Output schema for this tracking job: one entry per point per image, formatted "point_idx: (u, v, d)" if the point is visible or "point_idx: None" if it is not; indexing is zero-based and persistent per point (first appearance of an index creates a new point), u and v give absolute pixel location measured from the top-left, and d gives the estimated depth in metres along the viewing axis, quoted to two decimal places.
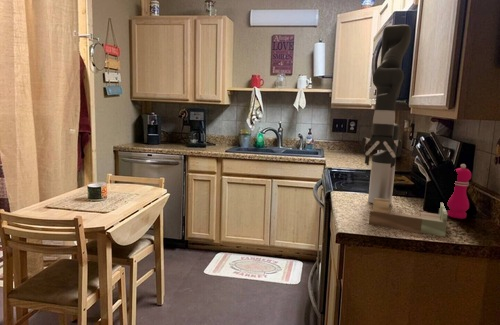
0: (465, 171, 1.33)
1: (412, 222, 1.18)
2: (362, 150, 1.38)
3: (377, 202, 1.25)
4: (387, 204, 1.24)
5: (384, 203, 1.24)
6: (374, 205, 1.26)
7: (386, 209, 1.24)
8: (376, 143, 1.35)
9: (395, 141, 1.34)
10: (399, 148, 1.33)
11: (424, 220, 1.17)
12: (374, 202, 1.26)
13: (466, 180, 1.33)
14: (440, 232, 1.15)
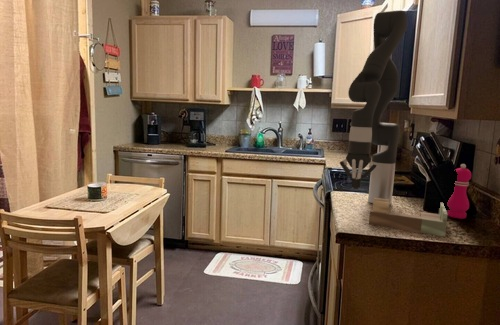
0: (465, 171, 1.33)
1: (412, 222, 1.18)
2: (348, 173, 1.29)
3: (377, 202, 1.25)
4: (387, 204, 1.24)
5: (384, 203, 1.24)
6: (374, 205, 1.26)
7: (386, 209, 1.24)
8: (353, 162, 1.27)
9: (371, 163, 1.26)
10: (368, 171, 1.26)
11: (424, 220, 1.17)
12: (374, 202, 1.26)
13: (466, 180, 1.33)
14: (440, 232, 1.15)
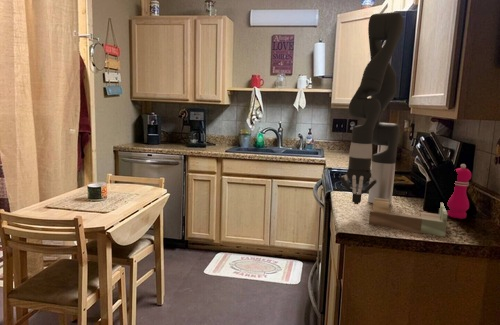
0: (465, 171, 1.33)
1: (412, 222, 1.18)
2: (348, 188, 1.30)
3: (377, 202, 1.25)
4: (387, 204, 1.24)
5: (384, 203, 1.24)
6: (374, 205, 1.26)
7: (386, 209, 1.24)
8: (353, 178, 1.28)
9: (371, 178, 1.27)
10: (369, 187, 1.27)
11: (424, 220, 1.17)
12: (374, 202, 1.26)
13: (466, 180, 1.33)
14: (440, 232, 1.15)
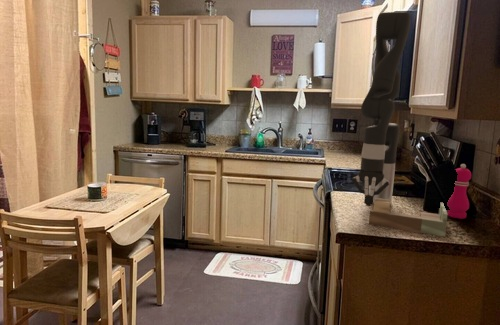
0: (465, 171, 1.33)
1: (412, 222, 1.18)
2: (360, 190, 1.28)
3: (378, 202, 1.25)
4: (388, 204, 1.24)
5: (385, 203, 1.24)
6: (375, 205, 1.26)
7: (387, 209, 1.24)
8: (366, 179, 1.26)
9: (384, 180, 1.25)
10: (381, 188, 1.25)
11: (424, 220, 1.17)
12: (375, 202, 1.25)
13: (466, 180, 1.33)
14: (440, 232, 1.15)
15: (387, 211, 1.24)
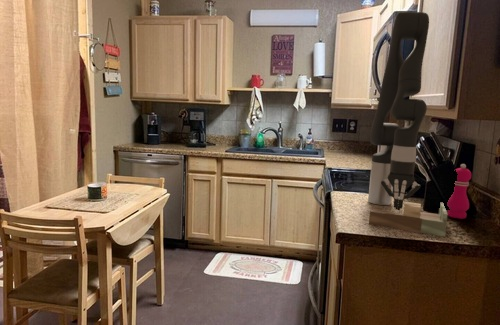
0: (465, 171, 1.33)
1: (412, 222, 1.18)
2: (389, 193, 1.24)
3: (408, 206, 1.21)
4: (419, 209, 1.20)
5: (416, 208, 1.20)
6: (405, 209, 1.22)
7: (418, 214, 1.20)
8: (396, 182, 1.22)
9: (414, 183, 1.21)
10: (412, 192, 1.21)
11: (424, 220, 1.17)
12: (405, 206, 1.21)
13: (466, 180, 1.33)
14: (440, 232, 1.15)
15: (418, 216, 1.20)
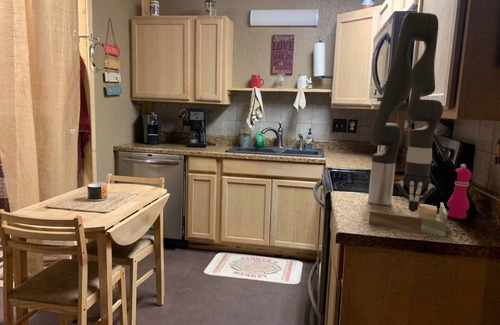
0: (465, 171, 1.33)
1: (412, 222, 1.18)
2: (405, 195, 1.22)
3: (424, 209, 1.19)
4: (435, 211, 1.18)
5: (432, 210, 1.18)
6: (420, 211, 1.20)
7: (434, 216, 1.18)
8: (411, 184, 1.21)
9: (430, 185, 1.20)
10: (428, 194, 1.20)
11: (424, 220, 1.17)
12: (421, 209, 1.20)
13: (466, 180, 1.33)
14: (440, 232, 1.15)
15: (434, 218, 1.18)
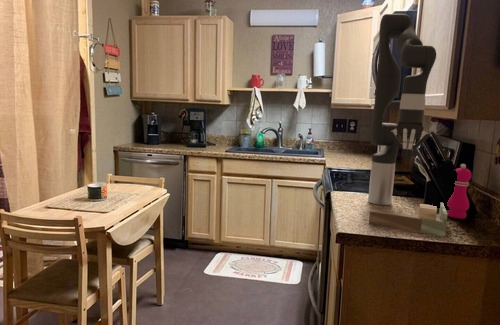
0: (465, 171, 1.33)
1: (412, 222, 1.18)
2: (398, 143, 1.23)
3: (424, 209, 1.19)
4: (435, 211, 1.18)
5: (432, 210, 1.18)
6: (420, 211, 1.20)
7: (434, 216, 1.18)
8: (404, 132, 1.21)
9: (423, 132, 1.20)
10: (421, 141, 1.20)
11: (424, 220, 1.17)
12: (421, 209, 1.20)
13: (466, 180, 1.33)
14: (440, 232, 1.15)
15: (434, 218, 1.18)
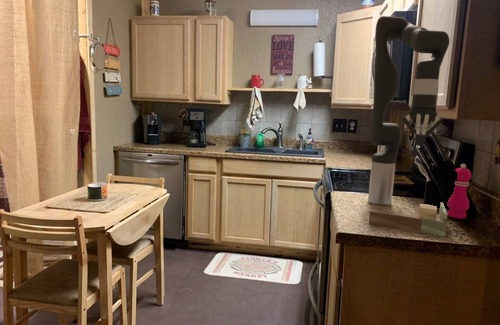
0: (465, 171, 1.33)
1: (412, 222, 1.18)
2: (411, 129, 1.23)
3: (424, 209, 1.19)
4: (435, 211, 1.18)
5: (432, 210, 1.18)
6: (420, 211, 1.20)
7: (434, 216, 1.18)
8: (418, 117, 1.21)
9: (437, 117, 1.20)
10: (435, 126, 1.20)
11: (424, 220, 1.17)
12: (421, 209, 1.20)
13: (466, 180, 1.33)
14: (440, 232, 1.15)
15: (434, 218, 1.18)
